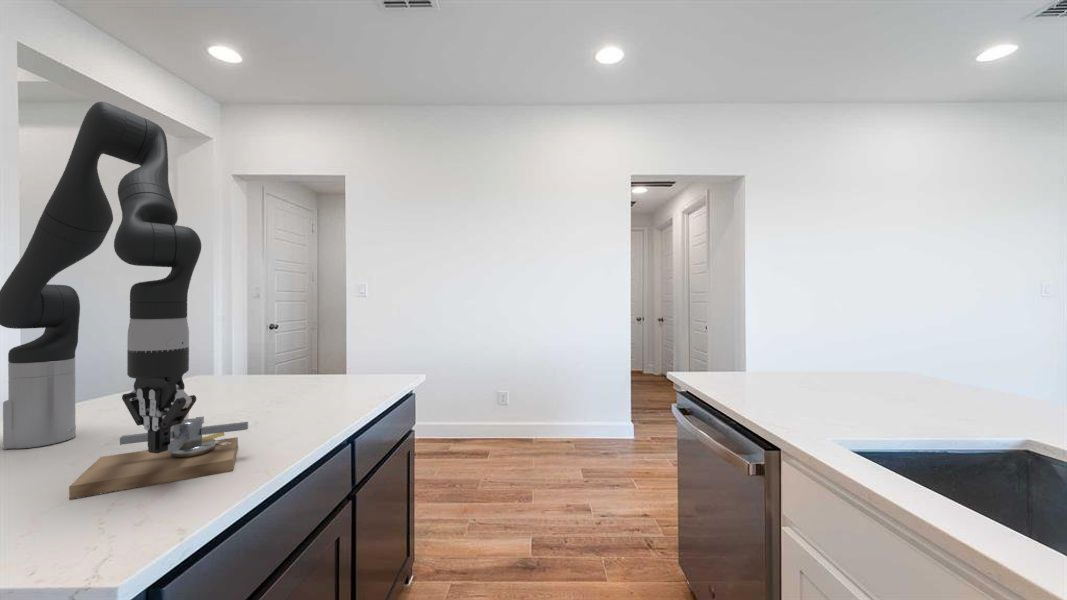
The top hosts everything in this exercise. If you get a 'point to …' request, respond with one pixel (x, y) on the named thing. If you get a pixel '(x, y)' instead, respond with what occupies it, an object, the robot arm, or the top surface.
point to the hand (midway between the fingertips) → (158, 451)
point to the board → (152, 469)
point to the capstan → (190, 437)
